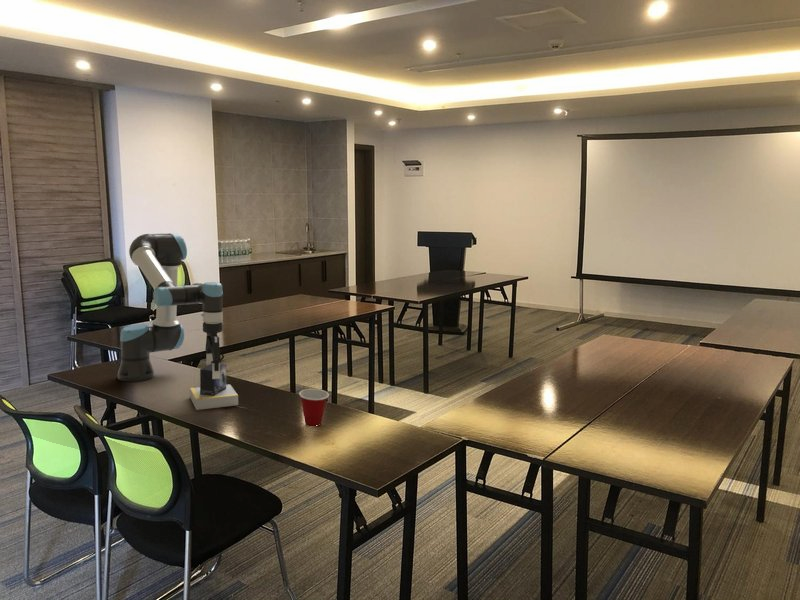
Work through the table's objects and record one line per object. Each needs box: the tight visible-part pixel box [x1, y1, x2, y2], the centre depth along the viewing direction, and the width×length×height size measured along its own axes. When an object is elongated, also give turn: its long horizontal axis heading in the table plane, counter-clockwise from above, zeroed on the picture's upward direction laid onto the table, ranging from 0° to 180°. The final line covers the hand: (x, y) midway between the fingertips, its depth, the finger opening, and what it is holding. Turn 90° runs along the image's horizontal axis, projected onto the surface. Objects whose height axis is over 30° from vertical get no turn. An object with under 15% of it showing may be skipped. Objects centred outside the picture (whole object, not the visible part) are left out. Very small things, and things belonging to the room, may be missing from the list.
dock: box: [189, 384, 239, 411], centre depth 253 cm, size 16×16×4 cm
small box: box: [199, 363, 227, 396], centre depth 251 cm, size 11×6×10 cm, turn 168°
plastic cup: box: [298, 388, 330, 427], centre depth 230 cm, size 11×11×12 cm
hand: (213, 373), depth 251 cm, fingers open, 13 cm apart
